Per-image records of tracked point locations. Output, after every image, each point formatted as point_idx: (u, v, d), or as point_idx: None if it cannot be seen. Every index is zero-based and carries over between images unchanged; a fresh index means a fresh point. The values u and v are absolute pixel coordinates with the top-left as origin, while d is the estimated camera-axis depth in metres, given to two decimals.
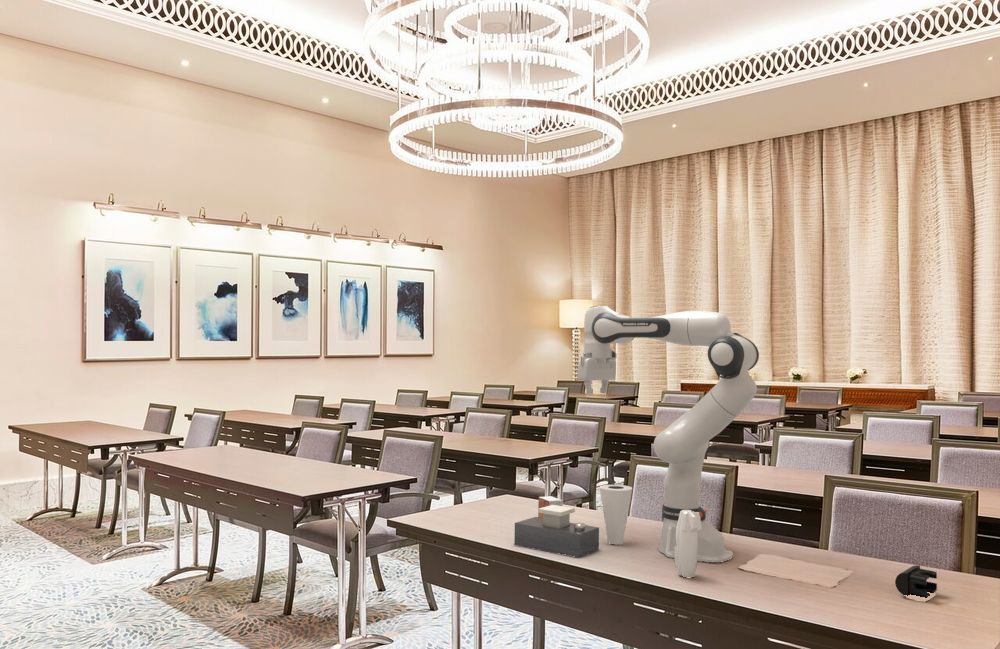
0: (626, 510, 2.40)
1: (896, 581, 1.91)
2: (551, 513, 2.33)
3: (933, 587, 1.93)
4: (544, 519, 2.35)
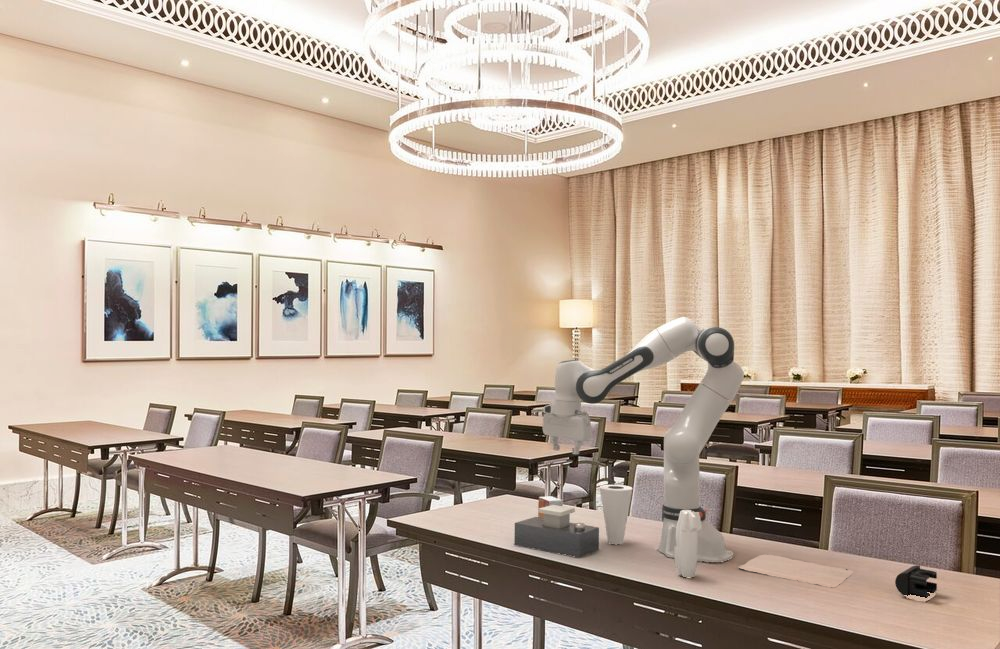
0: (626, 510, 2.40)
1: (896, 581, 1.91)
2: (551, 513, 2.33)
3: (933, 587, 1.93)
4: (544, 519, 2.35)
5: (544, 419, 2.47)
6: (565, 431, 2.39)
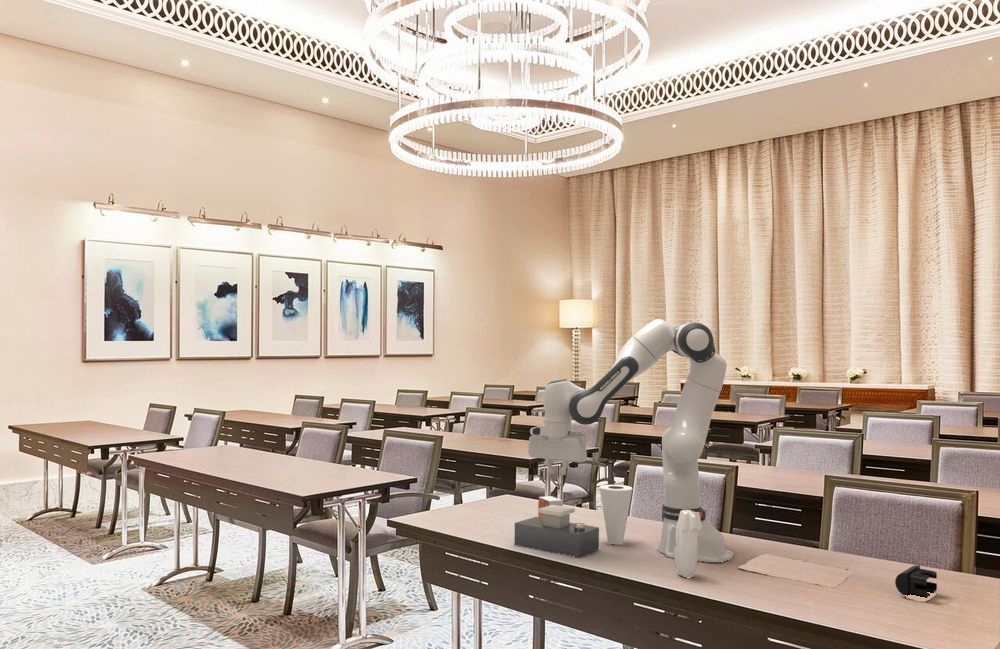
0: (626, 510, 2.40)
1: (896, 581, 1.91)
2: (551, 513, 2.33)
3: (933, 587, 1.93)
4: (544, 519, 2.35)
5: (531, 441, 2.41)
6: (558, 453, 2.35)
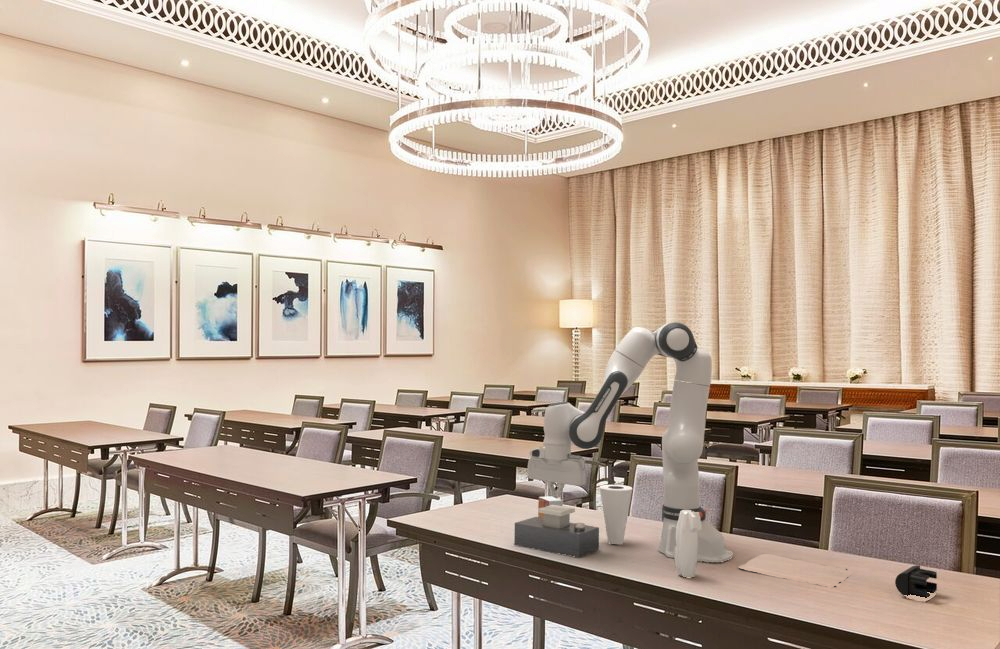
0: (626, 510, 2.40)
1: (896, 581, 1.91)
2: (551, 513, 2.33)
3: (933, 587, 1.93)
4: (544, 519, 2.35)
5: (530, 463, 2.40)
6: (557, 475, 2.34)
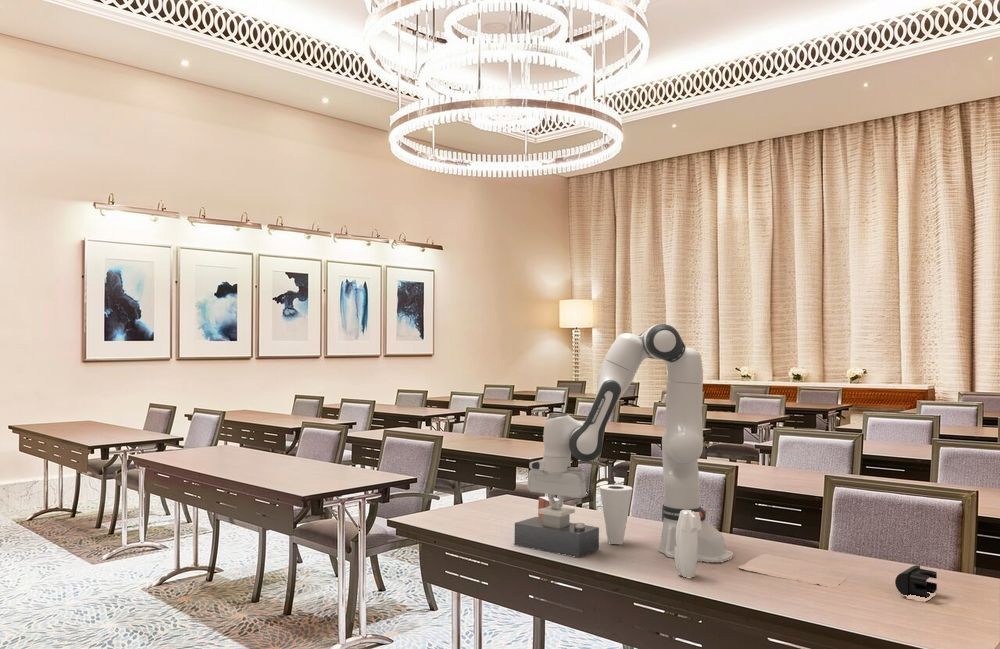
0: (626, 510, 2.40)
1: (896, 581, 1.91)
2: (551, 514, 2.33)
3: (933, 587, 1.93)
4: (544, 520, 2.35)
5: (530, 475, 2.40)
6: (557, 488, 2.34)
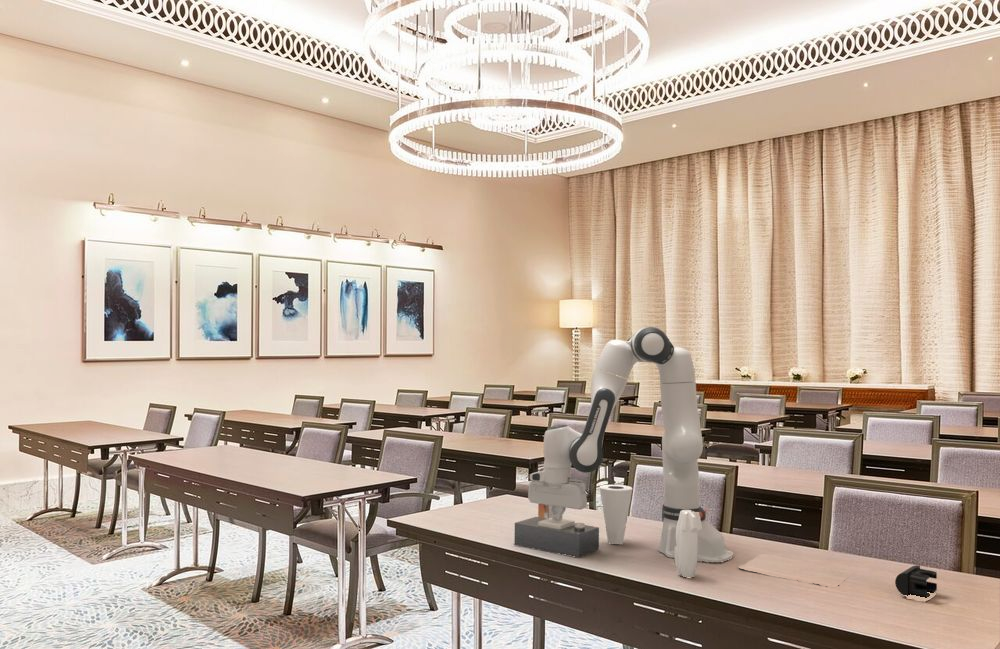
0: (626, 510, 2.40)
1: (896, 581, 1.91)
2: (551, 526, 2.32)
3: (933, 587, 1.93)
4: None
5: (530, 487, 2.40)
6: (558, 499, 2.34)
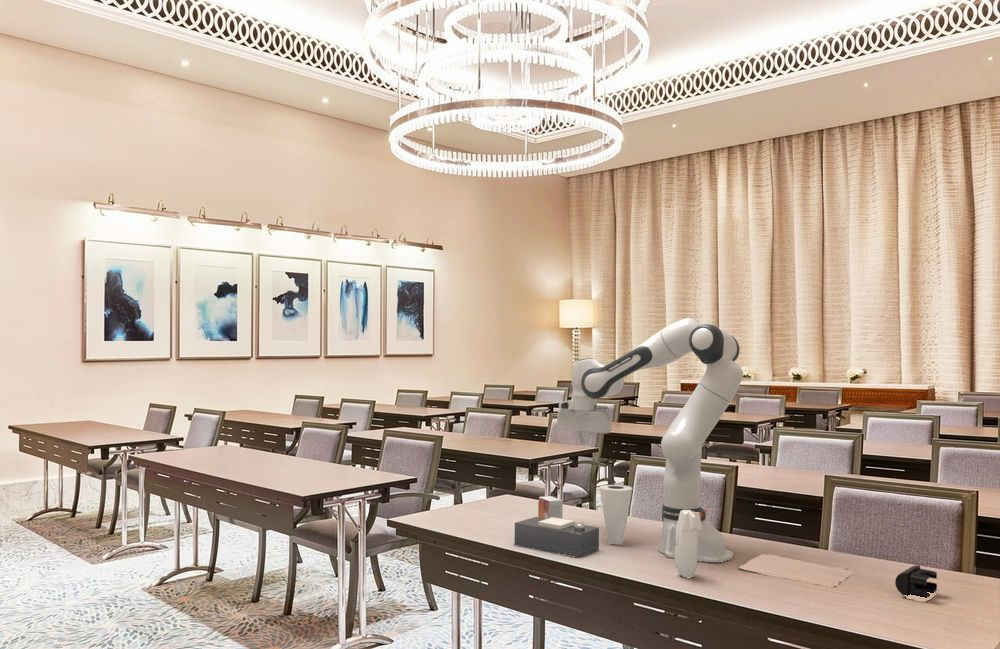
0: (626, 510, 2.40)
1: (896, 581, 1.91)
2: (551, 526, 2.32)
3: (933, 587, 1.93)
4: None
5: (559, 415, 2.62)
6: (585, 425, 2.57)
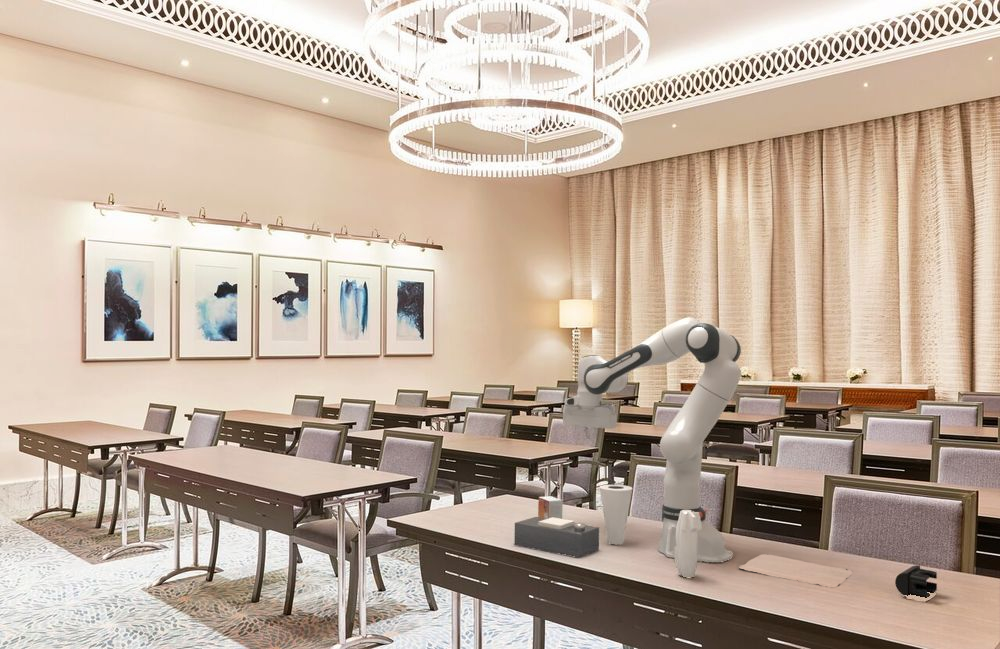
0: (626, 510, 2.40)
1: (896, 581, 1.91)
2: (551, 526, 2.32)
3: (933, 587, 1.93)
4: None
5: (565, 411, 2.67)
6: (590, 420, 2.61)
